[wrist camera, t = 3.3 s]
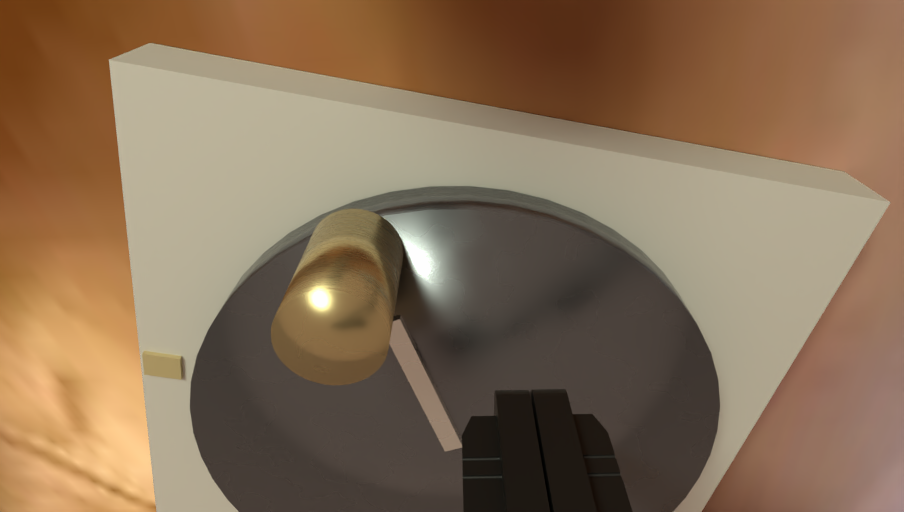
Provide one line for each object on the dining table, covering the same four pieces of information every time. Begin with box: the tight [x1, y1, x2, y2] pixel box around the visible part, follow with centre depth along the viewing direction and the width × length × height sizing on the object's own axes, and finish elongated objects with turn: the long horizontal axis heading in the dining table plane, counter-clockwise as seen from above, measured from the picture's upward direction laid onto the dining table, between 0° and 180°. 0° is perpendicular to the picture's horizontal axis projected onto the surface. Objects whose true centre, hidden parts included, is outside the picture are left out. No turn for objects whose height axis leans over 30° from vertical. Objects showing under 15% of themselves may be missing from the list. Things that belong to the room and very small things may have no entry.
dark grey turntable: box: [190, 186, 720, 512], centre depth 24 cm, size 23×22×7 cm
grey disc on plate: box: [109, 43, 890, 512], centre depth 28 cm, size 28×26×3 cm
